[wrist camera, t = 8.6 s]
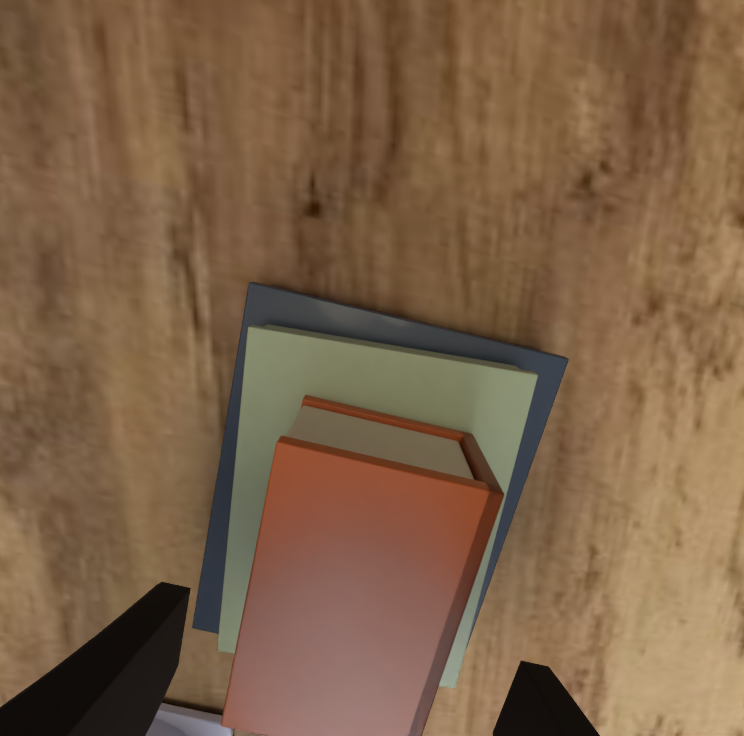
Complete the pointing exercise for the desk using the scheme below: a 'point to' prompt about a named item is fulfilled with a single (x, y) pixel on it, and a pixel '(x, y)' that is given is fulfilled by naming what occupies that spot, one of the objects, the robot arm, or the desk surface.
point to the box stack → (368, 391)
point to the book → (359, 574)
